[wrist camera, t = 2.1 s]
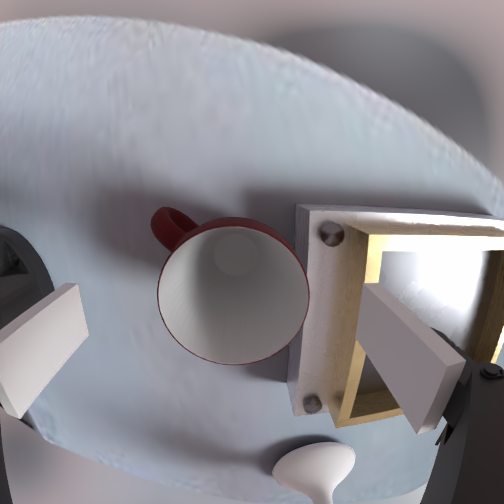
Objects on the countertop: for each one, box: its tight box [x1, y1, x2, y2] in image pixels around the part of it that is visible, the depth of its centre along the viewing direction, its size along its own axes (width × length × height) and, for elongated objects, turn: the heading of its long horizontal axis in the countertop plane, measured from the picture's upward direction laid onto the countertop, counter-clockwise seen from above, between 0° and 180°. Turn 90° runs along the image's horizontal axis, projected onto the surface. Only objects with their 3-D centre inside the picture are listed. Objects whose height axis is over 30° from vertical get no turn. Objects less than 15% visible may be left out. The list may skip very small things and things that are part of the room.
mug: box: [151, 207, 310, 365], centre depth 20 cm, size 11×8×10 cm
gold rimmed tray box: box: [287, 204, 504, 428], centre depth 23 cm, size 28×18×8 cm, turn 90°
